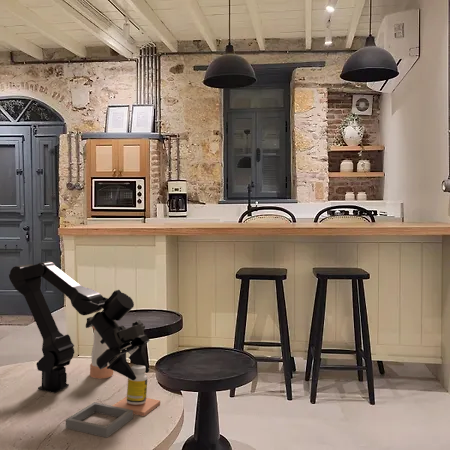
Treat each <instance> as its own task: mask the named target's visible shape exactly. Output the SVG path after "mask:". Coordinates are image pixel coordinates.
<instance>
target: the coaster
mask: <svg viewBox="0 0 450 450" xmlns="http://www.w3.org/2000/svg"><path fill="white" fill-rule="evenodd" d="M126 399H127V396H125V397H123V398H122V399H121V400H119V401H117V402H116V403H114V404H113V405H112V406H115V407H120V408H125V409H129V410H133V415H135V416H136V415H137V416H140V417H141V416H142V417H145V416H147V415H148V414H149V413H151V412H152V411H153V410H154V409H156V408H157V407H158V406H160V405H161V400H159V399H154V398H149V397H146V402H145V403H144V404H140V405H132V404H129V403H127V401H126Z"/></svg>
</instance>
